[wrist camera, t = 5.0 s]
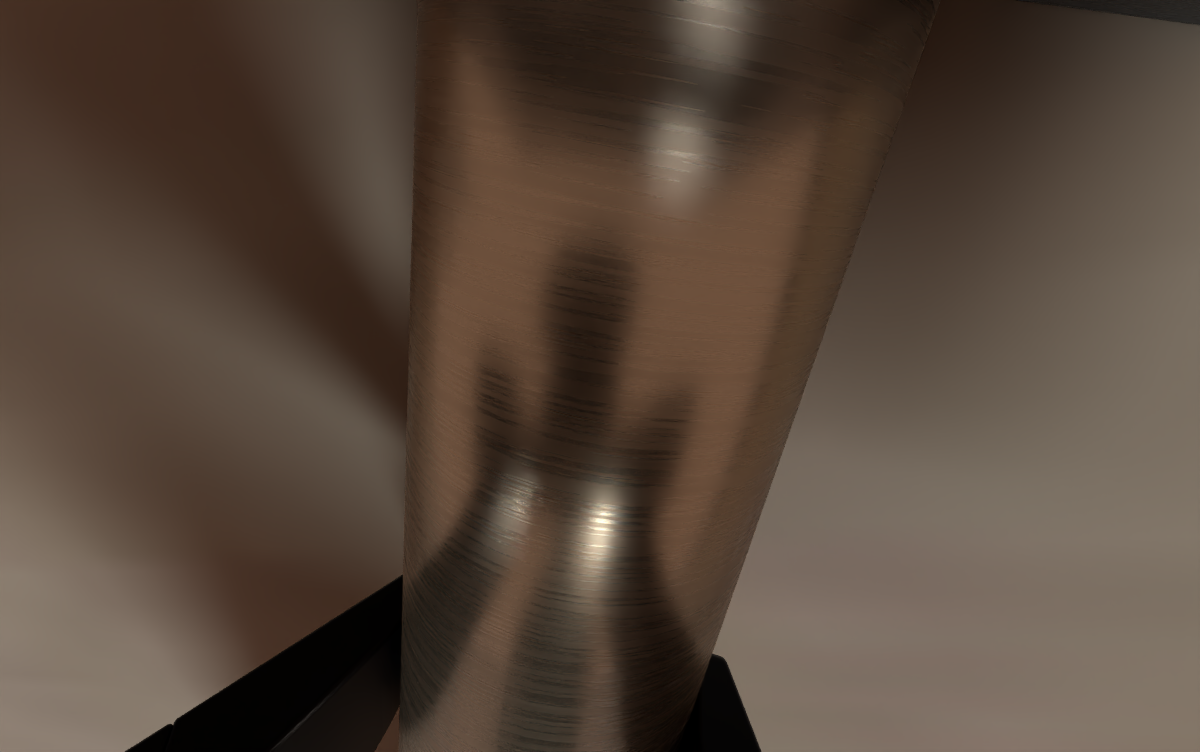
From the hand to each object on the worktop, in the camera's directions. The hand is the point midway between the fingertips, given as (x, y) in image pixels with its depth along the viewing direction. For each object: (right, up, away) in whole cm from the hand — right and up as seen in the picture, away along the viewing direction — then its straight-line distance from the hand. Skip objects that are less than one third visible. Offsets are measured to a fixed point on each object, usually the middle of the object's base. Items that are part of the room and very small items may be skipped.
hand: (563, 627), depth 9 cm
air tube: (+1, +5, -1) cm, 5 cm away
